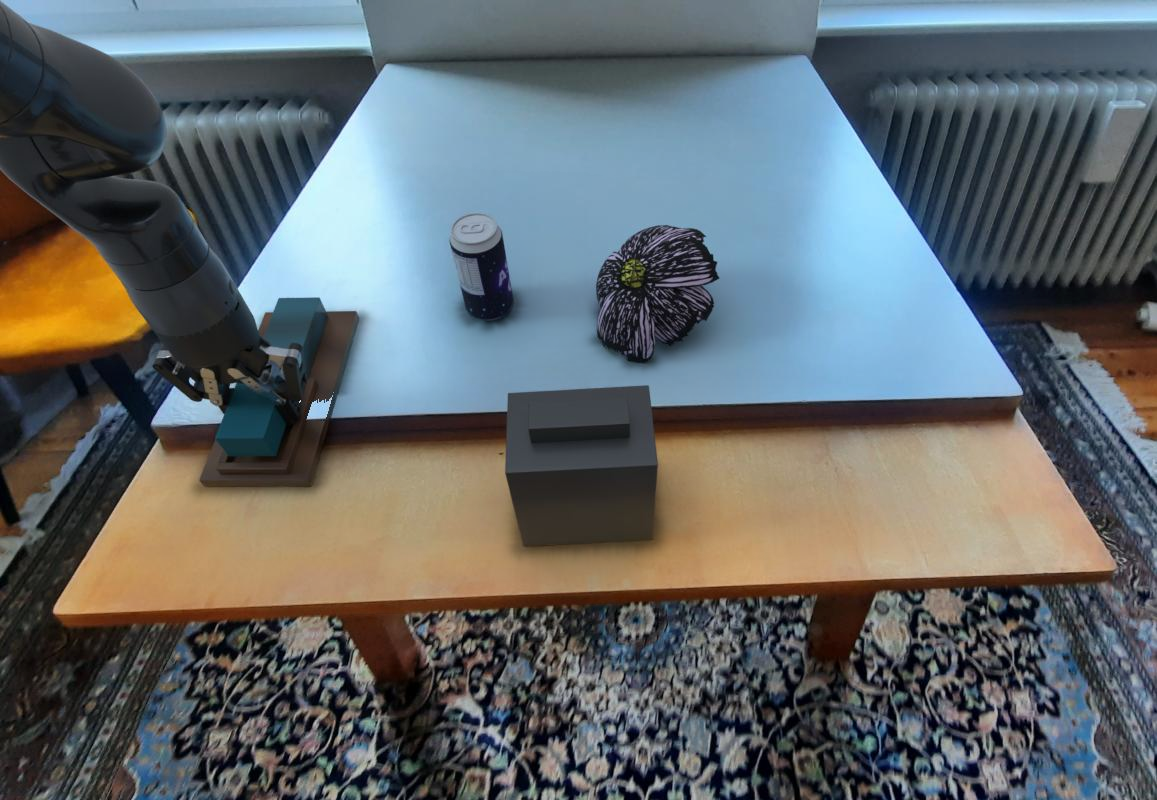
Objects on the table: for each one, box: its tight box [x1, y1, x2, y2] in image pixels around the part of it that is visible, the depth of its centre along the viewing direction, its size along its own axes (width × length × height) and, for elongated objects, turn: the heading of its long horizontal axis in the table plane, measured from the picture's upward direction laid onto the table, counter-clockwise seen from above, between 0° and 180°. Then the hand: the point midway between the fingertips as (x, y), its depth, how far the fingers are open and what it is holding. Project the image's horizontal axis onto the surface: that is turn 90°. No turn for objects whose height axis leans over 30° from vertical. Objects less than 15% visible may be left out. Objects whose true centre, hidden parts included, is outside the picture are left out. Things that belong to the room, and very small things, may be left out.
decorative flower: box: [595, 224, 720, 364], centre depth 81 cm, size 15×12×15 cm
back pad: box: [214, 368, 286, 456], centre depth 74 cm, size 10×5×3 cm, turn 178°
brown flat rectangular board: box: [198, 296, 360, 487], centre depth 78 cm, size 23×11×4 cm, turn 178°
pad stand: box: [504, 384, 659, 547], centre depth 64 cm, size 12×8×15 cm, turn 92°
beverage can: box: [448, 212, 514, 321], centre depth 82 cm, size 6×6×12 cm
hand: (268, 417), depth 75 cm, fingers closed on back pad, 4 cm apart
